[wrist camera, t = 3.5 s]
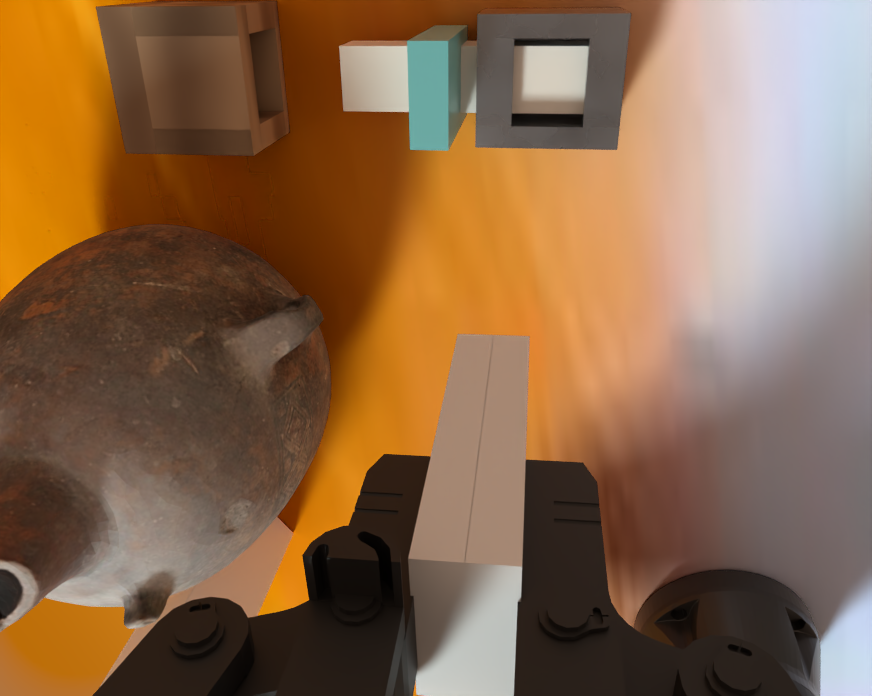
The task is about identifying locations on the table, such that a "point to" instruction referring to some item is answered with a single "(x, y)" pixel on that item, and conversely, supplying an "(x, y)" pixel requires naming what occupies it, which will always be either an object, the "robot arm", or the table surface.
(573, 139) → the sleeve
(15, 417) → the jug
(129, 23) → the socket
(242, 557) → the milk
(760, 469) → the table surface
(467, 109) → the bolt
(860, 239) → the table surface
